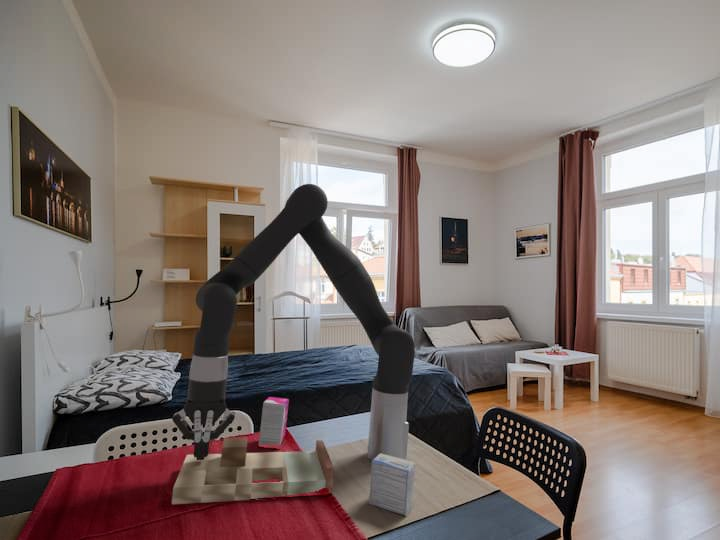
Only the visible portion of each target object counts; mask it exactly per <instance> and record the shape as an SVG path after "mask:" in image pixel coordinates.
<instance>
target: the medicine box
mask: <svg viewBox="0 0 720 540" xmlns="http://www.w3.org/2000/svg"><path fill="white" fill-rule="evenodd" d="M370 469H371V470H370V472H371V473H370V485H369V486H370V487H369V497H368V498H369V500H368V503H369V505H372V506H374V507H379V508H380V509H384V510H387V511H389V512H392V513H397V514H400V515H403V516H405V517H406V516H408V515H409V512H410V511H411V509H412V508H413V506H414V492H415V491H414V490H415V476H416V475H415V473H416V462H414V461H411V460H407V459H406V460H404V459H400V458H397V457H393V456H389V455H385V454H381V453H380V454H379V455H378V456H377V457H376V458H375V459H374V460H373V461H371V468H370Z"/></svg>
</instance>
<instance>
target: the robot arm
mask: <svg viewBox="0 0 720 540" xmlns="http://www.w3.org/2000/svg"><path fill="white" fill-rule="evenodd" d="M327 208H328V197H327V194H326V192H325V191H324V190H323V189H322V188H321V187H320V186H318V185H316V184H315V183H305V184H302V185H299V186H298V187H296V188H295V189H293V192H292V193H291V194H290V196H289V197H288V198H287V200H286V202H285V205H284V206H283V208H282V210H281V211H280V212H279V213H278V215H276V217H275V218H274V219H273V220H272V221H271V222H270V223H269V224H268V225H267V226H266V227H265V228H264V229H263V230H261V231H260V232H259V233H258V234H257V235H256V236H255V237H254V238H252V240H251V241H249V243H247V244H246V245H245V246H244V247H243V248H242V249H241V250H240V251H239V252H238V253H237V254H236V255H235V256H234V257H233V258H232V259H231V260H230V262H229V263H228V264H227V265H226V266H224V267H223V268H222V269H220V270H219V271H217V272H216V273H215V274H214V275H213V276H211V277H210V278H209V279H207V280H206V282H204V283H203V285H201V286H200V288H199V289H198V291H197V293H196V296H195V303H196V304H195V305H196V306H197V308H198V309H199V310H200V311H201V312H202V313H201V321H200V326H199V328H197V330H196V332H195V335H194V341H193V351H192V353H193V354H192V359H191V363H190V369H189V372H188V374H189V375H188V376H189V377H188V378H189V379H188V388H187V398H186V403H185V404H184V405H183V408H182V409H181V410H180V411H176V412H175V413H174V414H173V416H172V418H171V421H172V422H173V423H174V425H175V426H176V427H177V428H178V430H179V431H180V433H181V434H182V435H183V437H184V438H185V439H186V440H187V441H189V440H191V441H194V446H193V447H194V449H193V455H194V457H197V460H204V458H205V457H207V455H208V454H210V453H209V452H210V444H211V443H210V442H211V441H212V440H217V439H218V438H219V437H220V436H221V435H222V434H223V433H224V432H225V430H227V428H228V427H229V426H230V425H231V424H232V423H233V422H234V420H235V418H236V412H235V411H232V410H229V408H227V407H228V406H227V402H226V394H227V393H226V392H227V390H226V389H227V380H228V370H229V347H230V346H229V345H230V335H231V332H232V331H231V330H232V328H233V325H234V321H235V317H236V312H237V307H238V299H237V295H238V294H239V293H240V292H241V291H242V290H244V289H245V288H248V287H250V286H252V285H253V284H254V283H255V282H256V281H257V280H258V279H259V278H260V277H261V276H262V274H264V273H265V271H266V270H267V269H269V267H270V266H271V265H272V263H274V261H276V259H277V257H279V255H280V254H281V253H282V252H283V251H284V249H286V247H287V246H288V244H290V243H291V241H292V240H293V239H294V238H295V237H296V236H297V235H298V234H299V236H300V237H301V238H302V239H303V240H304V241H305V242H304V243H306V245H307V246H308V247H309V248H310V250H311V252H312V253H313V254H314V256H315V258H316V260H317V262H318V263H319V264H320V266H321V268H322V269H323V270H324V272H325V274H326V276H327V277H328V279H329V281H330V282H331V283H332V285H333V287H334V288H335V290H336V291H337V293H338V294H339V296H340V297H341V299H342V300H343V301H344V303H345V304H346V305H347V306H348V308H349V309H350V311H351V312H352V313H353V315H355V317H356V318H357V319H358V321H359V322H360V324H361V325H362V327H363V329H364V331H365V333H366V335H367V337H368V339H369V341H370V343H371V345H372V347H373V350H374V351H375V353H376V354H377V356H378V359H377V360H378V362H377V370H376V375H375V376H374V377H373V379H372V388H371V389H372V391H371V404H370V417H369V429H368V442H367V459H369V460H370V462H372V461H373V460H374V459H375V458H376V457H377V456H378V455H379V454H380V453H381V454H385V455H389V456H393V457H397V458H400V459H404V460H407V453H408V440H409V427H410V423H409V422H408V421H407V414H408V413H407V412H408V399H409V389H410V388H409V387H410V384H411V381H412V378H413V372H414V364H415V363H414V362H415V361H414V360H415V352H416V351H415V349H416V346H415V341H414V338H413V337H412V335H411V334H410V333H409V332H408V330H406V329H404V328H401V327H398V326H397V324H396V323H395V322H394V321H393V320H392V318H391V317H390V315H389V314H388V313H387V312H386V310H385V308H384V307H383V305H382V303H381V300H380V298H379V295H378V292H377V290H376V287H375V284H374V281H373V279H372V278H371V276H370V275H369V273H368V271H367V269H366V268H365V266H364V264H363V263H362V261H361V260H360V259H359V257H358V256H357V255H356V254H355V252H353V251H352V250H351V249H350V248H349V247H347V246H346V245H345V244H343V243H342V242H341V241H340V240H338V239H337V238H336V237H335V236H334V235H333V233H332V232H331V229H329V227H328V226H327V224H326V222H325V220H324V218H323V216H324V215H325V213H326V211H327ZM222 415H223V417H222ZM187 417H188V419H189V420H190V422H191V423H192V424H193V426H194V427H193V428H192V426H191V425H190V424H189V423H188V422H187V420H186V419H187ZM221 417H222V421H221V422H220V423H219V425H218V426H217V427H216V428H215V429H214V430H213V425H214V424H215V423H216V422H217V421H218V420H219V419H220V418H221ZM203 426H204V432H203ZM193 429H194V430H193ZM212 430H213V431H212Z"/></svg>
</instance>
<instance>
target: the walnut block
mask: <svg viewBox="0 0 720 540" xmlns="http://www.w3.org/2000/svg"><path fill="white" fill-rule="evenodd" d="M247 448H248V437H224V438H223V442H222V446H221V453H220V454H221V464H220V467H239V466H245V462H246V453H248V452H247V451H248V449H247Z"/></svg>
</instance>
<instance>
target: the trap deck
mask: <svg viewBox="0 0 720 540" xmlns="http://www.w3.org/2000/svg"><path fill="white" fill-rule="evenodd" d="M221 454H222V453H208V455H207V457H205V458H204V460H197V457H194V454H186V456H185V458H184V461H183V462H182V463H183V464H182V466H181V468H180V470H179V473H178V475H177V478H176V481H175V482H174V485H173V488H172V495H171V505H187V504H201V503H217V502H218V503H220V502H234V501H235V502H236V501H237V502H239V501H251V500H250V499H256V500H258V499H257V498H264V497H273V496H285V495H293V494H294V495H295V494H301V493H308V492H315V491H319V490H321V489H323V488H328V489H329V490H330V492H331V493H332V494H333V485H334V473H335V471H334V470H335V465H334V464H333V462H332V460H331V457H330V455H329V452H328V450H327V447H326V445H325V442H324V440H323V439H321V440H320V439H319V440H316V441H315V450H310V451H309V450H306V451H305V450H304V451H301V450H300V451H274V452H273V451H271V452H246V462H245V466H239V467H220V464H221ZM268 479H280V480H281V481H280V482H259V483H252V482H253V481H259V480H268Z"/></svg>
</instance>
